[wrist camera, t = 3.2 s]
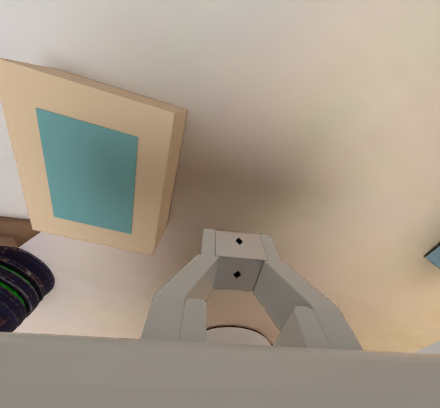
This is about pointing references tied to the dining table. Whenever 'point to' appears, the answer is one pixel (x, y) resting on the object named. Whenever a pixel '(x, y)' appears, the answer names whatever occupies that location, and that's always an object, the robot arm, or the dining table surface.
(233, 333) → the robot arm
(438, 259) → the gum box
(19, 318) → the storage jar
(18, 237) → the frame
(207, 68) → the dining table surface
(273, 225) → the dining table surface
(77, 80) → the carton
